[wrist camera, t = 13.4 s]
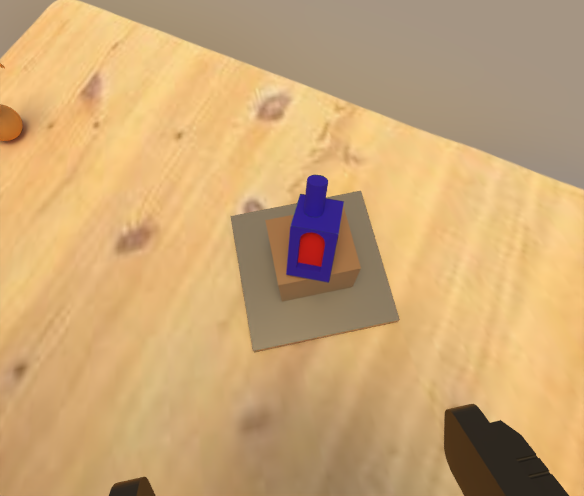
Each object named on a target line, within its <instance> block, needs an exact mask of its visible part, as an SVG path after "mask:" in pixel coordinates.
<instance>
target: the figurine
mask: <svg viewBox="0 0 584 496" xmlns="http://www.w3.org/2000/svg"><path fill="white" fill-rule="evenodd" d="M0 66H1V67H2V68H3V67H4V66H3V65H2V64H1V63H0ZM4 68H5V67H4ZM21 131H22V120H21V118H20V116H19V115H18V113H17V112H16V111H14V110H13V109H12V108H10V107H8V106H5V105H1V104H0V141H9V140H13V139H15V138H16V137H18V136H19V135H20V133H21Z"/></svg>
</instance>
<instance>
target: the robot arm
mask: <svg viewBox="0 0 584 496" xmlns="http://www.w3.org/2000/svg"><path fill="white" fill-rule="evenodd" d="M444 450H445V455H446V459H447V462H448V465H449V467H450V470H451V472H452V474H453V476H454V477H455V479H456V481H457V483H458V485H459V487H460V488H461V490H462V492H463V494H464V496H569V495H568V494H567V492H566V491H565V490H564V489H563V487H562V486H561V485H560V484H559V482H558V481H557V480H556V478H555V477H554V476H553V475H552V474H550V473H549V470H548V468H547V467H546V466H545V465H544V463H543V462H542V461H541V459H540V458H538V457H537V456H536V453H535V452H534V451H533V449H532V448H531V447H530V446H529V444H528V443H527V442H526V441H525V439H524V438H523V437H522V435H520V434H519V433H518V432H516V431H515V430H513V429H512V428H511V427H509V426H508V425H506V424H505V423H504V422H502V421H501V420H500V421H496V422H492V423H489V421H488V420H487V418H486V417H485V416H484V414H483V413H482V412H481V410H480V409H479V408H478V407H477V406H476V405H475V404H469V405H465V406H460V407H456V408H451V409H447V410H446V411H445V425H444ZM109 496H155V494H154V491H153V489H152V487H151V485H150V483H149V481H148V479H147V478H146V477H141V478H136V479H132V480H128V481H123V482H119V483H115V484H114V485H113V487H112V488H111V491H110V494H109Z"/></svg>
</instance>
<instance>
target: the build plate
mask: <svg viewBox="0 0 584 496" xmlns="http://www.w3.org/2000/svg"><path fill="white" fill-rule="evenodd" d="M327 198H328V199H333V200H339V201H344V205H343V211H342V217H341V223H340V229H339V235H338V240H337V245H336V250H335V255H334V261H333V266H332V271H331V276H330V281H329V283H328V282H322V281H317V280H312V279H306V278H301V277H296V276H290V275H286V271H287V259H288V248H289V236H290V225H291V222H292V219H293V216H294V213H295V209H296V206H297V203H296V204H291V205H286V206H281V207H276V208H271V209H265V210H260V211H255V212H250V213H245V214H240V215H235V216H231V221H232V227H233V233H234V239H235V245H236V251H237V257H238V263H239V269H240V275H241V282H242V288H243V294H244V300H245V306H246V312H247V318H248V324H249V330H250V336H251V342H252V348H253V351H254V352H258V351H262V350H267V349H272V348H276V347H281V346H286V345H291V344H295V343H300V342H305V341H309V340H314V339H319V338H324V337H328V336H333V335H338V334H342V333H347V332H352V331H356V330H361V329H366V328H371V327H375V326H380V325H385V324H389V323H394V322H398V321H399V320H400V319H399V316H398V313H397V309H396V306H395V303H394V299H393V296H392V293H391V289H390V286H389V283H388V279H387V276H386V273H385V269H384V266H383V263H382V259H381V256H380V253H379V249H378V246H377V243H376V239H375V236H374V233H373V229H372V226H371V223H370V219H369V216H368V213H367V209H366V206H365V203H364V199H363V196H362V193H361V191H357V192H352V193H347V194H342V195H337V196H332V197H327Z"/></svg>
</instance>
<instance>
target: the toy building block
mask: <svg viewBox="0 0 584 496" xmlns="http://www.w3.org/2000/svg"><path fill="white" fill-rule="evenodd" d="M327 186H328V180H327V178H325V177H324V176H321V175H311V176H309V177H308V179H307V186H306V195H304V194H300V197H299V200H298V203H297V206H296V209H295V213H294V216H293V219H292V222H291V225H290V236H289V248H288V259H287V271H286V275H290V276H296V277H301V278H306V279H312V280H317V281H322V282H328V283H329V281H330V276H331V271H332V266H333V261H334V255H335V250H336V245H337V240H338V235H339V229H340V223H341V217H342V211H343V205H344V201H339V200H333V199H328V198H326V192H327Z"/></svg>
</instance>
